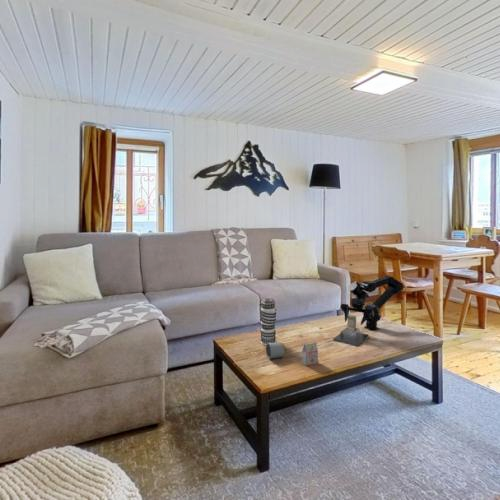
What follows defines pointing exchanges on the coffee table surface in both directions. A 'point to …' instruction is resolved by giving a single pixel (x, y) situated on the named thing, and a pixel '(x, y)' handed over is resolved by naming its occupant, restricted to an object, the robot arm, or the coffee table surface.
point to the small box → (310, 354)
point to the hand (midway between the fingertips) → (353, 322)
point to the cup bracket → (351, 337)
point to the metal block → (351, 323)
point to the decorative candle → (268, 321)
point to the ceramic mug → (275, 350)
